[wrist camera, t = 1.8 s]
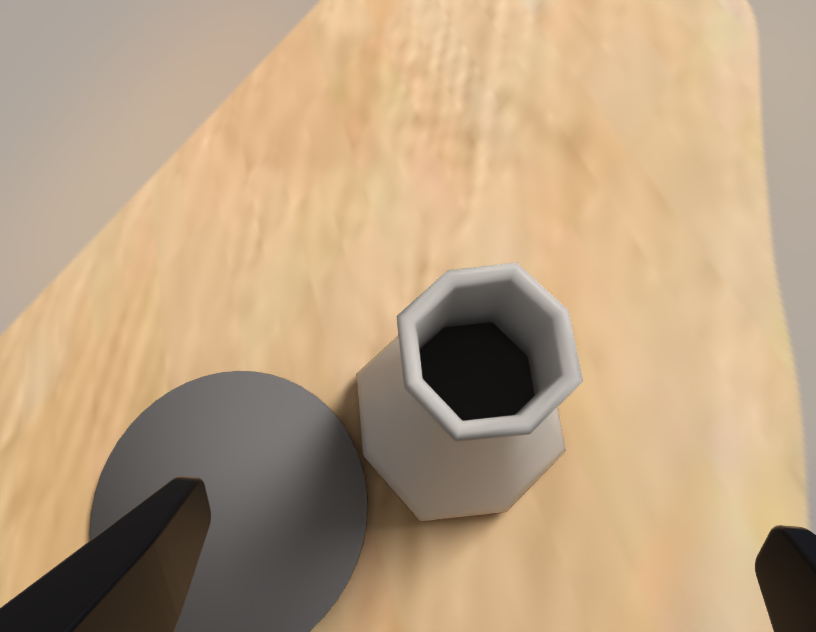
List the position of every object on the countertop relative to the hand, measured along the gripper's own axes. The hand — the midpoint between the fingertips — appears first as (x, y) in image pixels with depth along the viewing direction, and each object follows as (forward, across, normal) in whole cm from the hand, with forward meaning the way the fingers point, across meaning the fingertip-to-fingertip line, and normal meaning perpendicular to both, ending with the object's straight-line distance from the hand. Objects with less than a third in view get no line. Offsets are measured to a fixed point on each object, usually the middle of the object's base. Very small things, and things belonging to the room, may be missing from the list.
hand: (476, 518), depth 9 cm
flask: (+9, 0, +5) cm, 11 cm away
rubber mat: (+6, +8, +8) cm, 13 cm away
